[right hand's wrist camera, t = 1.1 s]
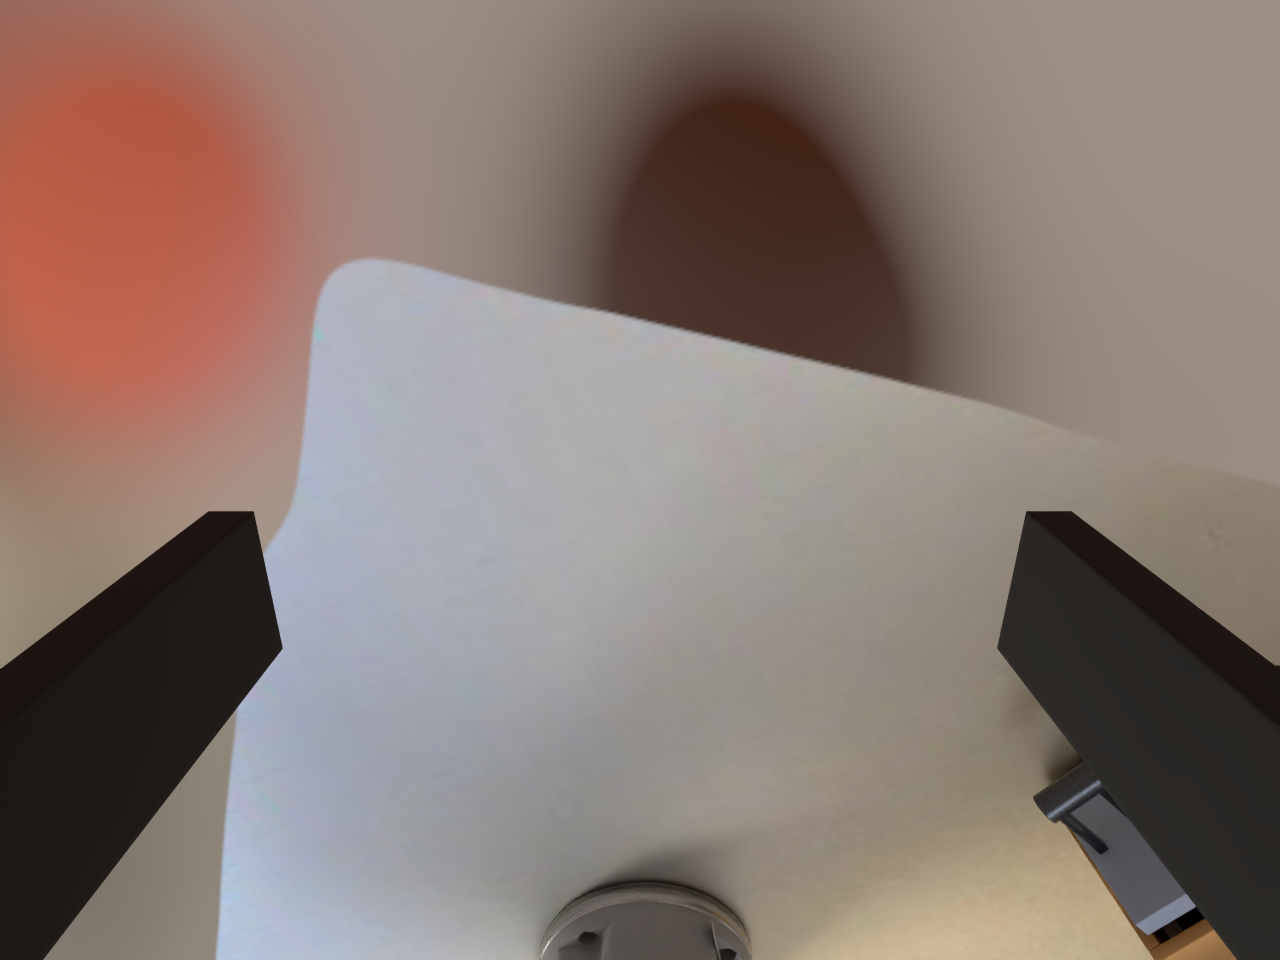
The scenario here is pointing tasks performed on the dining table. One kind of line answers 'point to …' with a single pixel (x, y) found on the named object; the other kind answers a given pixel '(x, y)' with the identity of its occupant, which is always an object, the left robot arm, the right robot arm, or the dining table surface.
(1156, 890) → the drawer
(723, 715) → the dining table surface
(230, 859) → the dining table surface
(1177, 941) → the cabinet
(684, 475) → the dining table surface
